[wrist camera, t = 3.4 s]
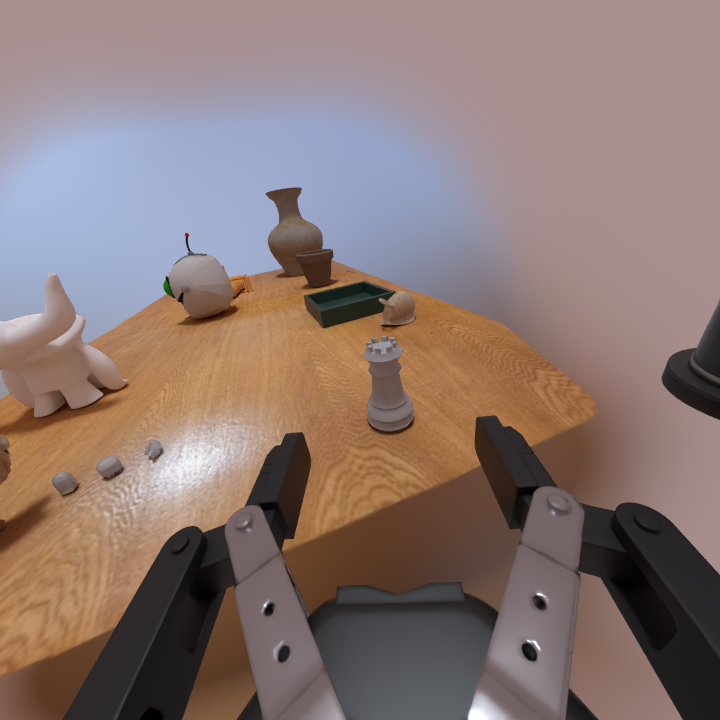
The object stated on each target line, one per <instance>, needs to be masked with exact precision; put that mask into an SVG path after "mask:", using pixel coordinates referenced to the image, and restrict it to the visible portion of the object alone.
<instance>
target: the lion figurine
mask: <svg viewBox="0 0 720 720" xmlns="http://www.w3.org/2000/svg"><path fill="white" fill-rule="evenodd" d="M9 446H10V443H9V441H8V440H7V439H6V438H5V436H4V435H0V484H1V483H2V482H3V481H4V480H6V479H7V477H8V474H9V473H10V472H11V469H10V466H11V461H10V453H9V452H8V450H7V448H9ZM3 527H5V520H0V530H1V529H2V528H3Z"/></svg>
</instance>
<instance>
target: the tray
mask: <svg viewBox="0 0 720 720" xmlns="http://www.w3.org/2000/svg"><path fill="white" fill-rule="evenodd" d="M394 294H396V292H395V291H392V290H389V289H387V288H384V287H381V286H378V285H375V284H372V283H370V282H367V281H363V282H359V283H354V284H350V285H346V286H342V287H338V288H334V289H330V290H325V291H321V292H317V293H313V294H309V295H305V296H304V300H305V304H306V308H307V310H308V311H309V312H310V313H311V314H312V315H313V317H314V318H315V319H316V320H317V321H318V322H319V323H320V324H321V325H322V326H323V327H324V328H326V327H329V326H333V325H337V324H340V323H344V322H347V321H351V320H355V319H358V318H362V317H365V316H369V315H372V314H376V313H380V312H383V311H384V308H385V305H383V304H382V303H381V302H379V299H380V298H381V299H384V300H386V301H388V300H389V299H390V297H391V296H393V295H394Z"/></svg>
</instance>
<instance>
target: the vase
mask: <svg viewBox="0 0 720 720" xmlns="http://www.w3.org/2000/svg"><path fill="white" fill-rule="evenodd" d="M301 189H302V188H286V189H280V190H274V191H270V192H267V193H266V195H267V196H268V197H269V198H270V199H271V200H273V201H274V202H275V204H276V206H277V208H278V213H279V224H278V225H277V226H276V227H275V228H274V229H273V230H272V231H271V233H270V235H269V237H268V245H269V248H270V250H271V252H272V254H273V256H274V257H275V258H276V260H277V261H278V262H279V264H280V265H281V266H282V267H283V269H284V270H285V272H286V274H287V276H289V277H293V276H301V275H304V273H303V270H302V268H301V266H300V264H298V263H297V261H296V257H295V255H297V254H300V253H304V252H309V251H315V250H322V246H323V240H322V233H321V231H320V230H319V228H318V227H317V226H315V225H314V224H312V223H310V222H307V221H305V220H304V219H303V218H302V217H301V215H300V212H299V209H298V203H297V199H298V196H299V195H300V193H301Z"/></svg>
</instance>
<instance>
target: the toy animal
mask: <svg viewBox="0 0 720 720" xmlns="http://www.w3.org/2000/svg"><path fill="white" fill-rule="evenodd" d="M45 297H46V307H45V310H44V312H43V313H40V314H33V315H27V316H22V317H18V318H15V319H12V320H9V321H7V322H5V321H0V370H2V378H3V381H4V384H5V386H6V388H7V389H8V390H9V392H10V393H11V394H12V395H13V396H14V397H15V398H16V399H17V400H18V401H20V402H21V403H22V404H24V405H25V406H27V407H31V408H34V417H43V416H47V415H49V414H52V413H53V412H55V411H56V410H58V409H59V408H60V407H61V406H62V405H63V404H64V400H63V397H65V398H66V400H67V402H68V404H69V406H70V408H71V409H77V408H81V407H84V406H86V405H89V404H91V403H93V402H95V401H96V400H97V399H99V398H100V397H101V396H102V395H103V393H102V392H101V391H99V390H98V389H97V388H103V387H107V388H109V389H112V390H117V389H120V388H122V387H124V386H125V385H126V383H127V382H128V379H122V378H121V376H120V373H119V371H118V369H117V367H116V366H115V364H114V363H113V361H112V360H111V359H110V358H109V357H107V356H106V355H105V354H103V353H102V352H100V351H99V350H97V349H96V348H94V347H92V346H90V345H88V344H86V343H83V342H82V338H81V334H82V331H83V329H84V326H85V319H84V317H82V316H80V315H76V312H75V309H74V306H73V305H72V303H71V301H70V300H69V298H68V296H67V295H66V293H65V291H64V289H63V288H62V285H61V283H60V280H59V277H58V275H57V274H55V273H50V274H49V275H48V277H47V279H46V284H45ZM93 385H94V386H95V387H94V386H93ZM96 387H97V388H96Z"/></svg>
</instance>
